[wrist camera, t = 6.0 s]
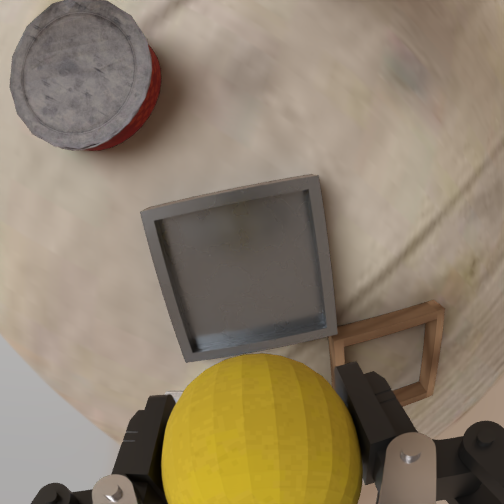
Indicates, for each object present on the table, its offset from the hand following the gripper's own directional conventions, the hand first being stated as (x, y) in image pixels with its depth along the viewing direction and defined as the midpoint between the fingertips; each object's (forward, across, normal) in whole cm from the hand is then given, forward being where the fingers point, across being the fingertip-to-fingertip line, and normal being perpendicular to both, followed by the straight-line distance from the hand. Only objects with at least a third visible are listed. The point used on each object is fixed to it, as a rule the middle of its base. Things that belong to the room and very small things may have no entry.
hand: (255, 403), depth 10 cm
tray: (+15, 0, 0) cm, 15 cm away
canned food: (+15, +8, -16) cm, 23 cm away
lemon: (+2, 0, 0) cm, 2 cm away
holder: (+14, -11, +12) cm, 22 cm away
